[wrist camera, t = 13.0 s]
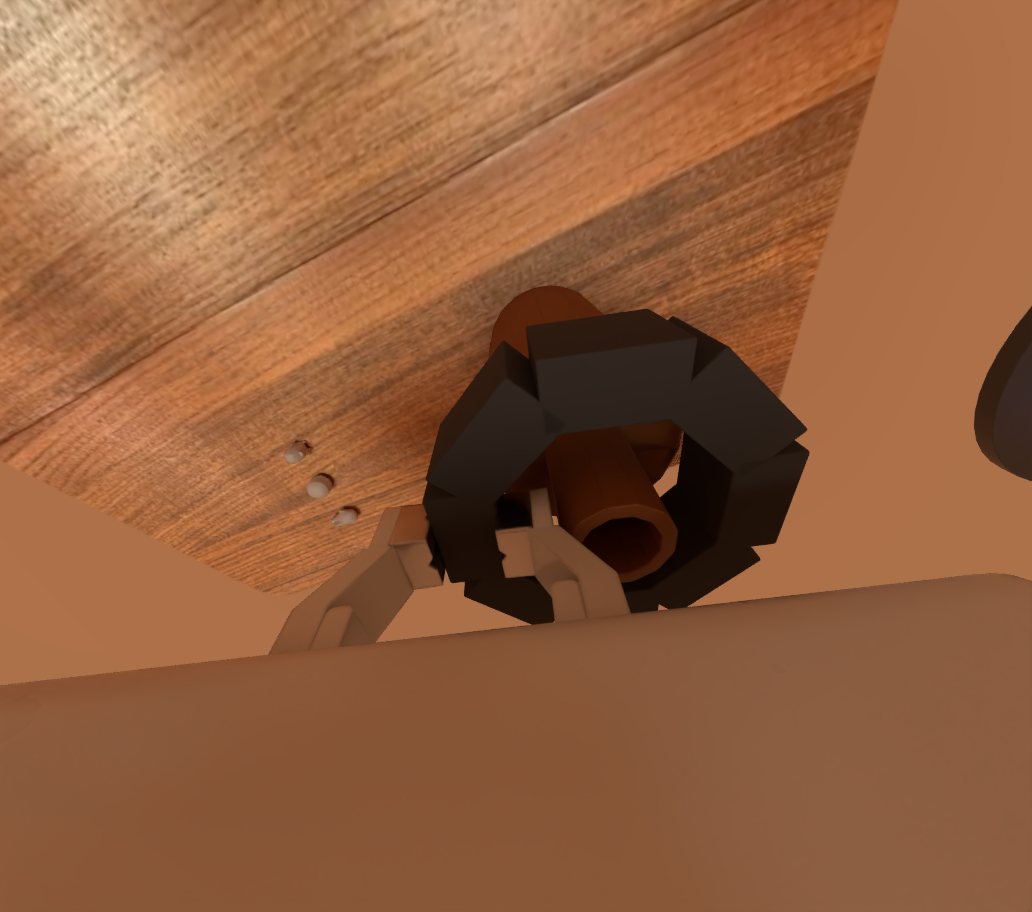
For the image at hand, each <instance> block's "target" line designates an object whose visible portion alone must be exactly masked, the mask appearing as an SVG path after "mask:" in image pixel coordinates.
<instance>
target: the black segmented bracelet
mask: <svg viewBox="0 0 1032 912" xmlns="http://www.w3.org/2000/svg"><path fill="white" fill-rule="evenodd" d="M526 336H527V345H528V354H529V359H528V358H527V357H525V356H524V355H523V354H521V353H520V352H519V351H518V350H516V349H515V348H514V347H512V346H511V345H510V344H508V343H507V342H506V341H502V342H501V343H500V344H499V346H498V347H497V348H496V350H495V351H494V353H493V354H492V355H491V357H490V358H489V359H488V361H487V362H486V363H485V365H484V366H483V367H482V369H481V370H480V372H479V373H478V374H477V376H476V377H475V378H474V380H473V381H472V382H471V384H470V385H469V386H468V388H467V389H466V390H465V392H464V393H463V395H462V396H461V397H460V399H459V400H458V401H457V403H456V404H455V405H454V407H453V408H452V409H451V411H450V412H449V414H448V415H447V416H446V418H445V419H444V420H443V422H442V423H441V424H440V427H439V431H438V435H437V439H436V442H435V446H434V450H433V454H432V457H431V461H430V465H429V469H428V473H427V476H426V481H427V486H426V490H425V494H424V498H423V502H422V503H423V506H424V509H425V512H426V514H427V517H428V520H429V523H430V526H431V528H432V531H433V534H434V537H435V540H436V543H437V546H438V548H439V551H440V554H441V557H442V560H443V562H444V565H445V568H446V571H447V574H448V577H449V579H450V582H451V583H458V582H465V589H464V596H465V597H467V598H469V599H471V600H474V601H476V602H479V603H481V604H483V605H486V606H488V607H491V608H493V609H495V610H498V611H500V612H503V613H505V614H507V615H510V616H512V617H515V618H517V619H520V620H522V621H524V622H527V623H529V624H532V625H535V624H544V623H553V622H554V621H555V618H554V610H553V602H552V597H551V596H550V594H549V593H548V592H547V591H546V589H545V588H544V587H543V586H542V585H541V583H540V582H539V581H538V580H537V578H536V577H535V575H534V576H523V577H512V578H506V577H505V573H504V569H503V565H502V552H501V551H499V547H498V543H497V538H496V533H495V516H496V514H497V512H498V507H497V500H498V499H499V498H500V497H501V496H502V495H503V494H504V493H505V492H506V491H507V490H508V488H509V487H510V486H511V485H512V484H513V483H514V482H515V481H516V480H517V479H518V478H519V477H520V476H521V475H522V474H523V472H524V471H525V470H526V469H527V468H528V467H529V466H530V465H531V464H532V463H533V462H534V461H535V460H536V459H537V458H538V457H539V455H540V454H541V453H542V452H543V451H544V450H545V449H546V448H547V447H548V446H549V445H550V444H551V443H552V442H553V441H554V439H555V438H556V437H557V436H558V435H560V434H567V433H575V432H582V431H590V430H597V429H605V428H612V427H619V426H627V425H634V424H642V423H649V422H657V421H664V420H670V421H671V422H673V423H674V424H675V425H676V426H677V427H679V428H680V429H681V430H682V431H683V432H684V437H683V444H682V451H681V458H680V465H679V472H678V479H677V484H676V485H675V486H673V487H672V488H671V489H670V490H668V491H667V492H666V493H665V494H664V495H662V496H661V497H660V499H661V501H662V503H663V504H664V506H665V508H666V510H667V511H668V513H669V515H670V517H671V518H672V520H673V522H674V524H675V525H676V527H677V530H678V533H677V540H676V546H675V551H674V553H673V554H672V555H671V556H670V557H669V558H668V559H667V560H666V561H665V562H664V563H663V565H662V566H661V567H660V568H659V569H657V570H656V571H654V572H652V573H650V574H647V575H645V576H643V577H641V578H639V579H637V580H635V581H631V582H622V583H621V586H622V589H623V592H624V595H625V598H626V601H627V603H628V606H629V609H630V612H631V614H632V613H641V612H650V611H658V606H659V604H660V605H661V606H664V607H665V608H667V609H676V608H685V607H687V606H689V605H691V604H692V603H694V602H695V601H697V600H699V599H700V598H702V597H703V596H705V595H706V594H708V593H710V592H711V591H713V590H714V589H716V588H718V587H719V586H721V585H722V584H724V583H725V582H727V581H728V580H730V579H731V578H733V577H735V576H736V575H738V574H740V573H741V572H743V571H744V570H746V569H747V568H749V567H751V566H752V565H754V564H755V563H757V562H758V561H760V557H759V556H758V555H757V553H756V552H755V551H754V550H753V548H751V546H759V545H768V544H774V543H775V542H776V541H777V538H778V536H779V533H780V530H781V528H782V525H783V522H784V520H785V517H786V514H787V512H788V509H789V506H790V504H791V501H792V498H793V496H794V493H795V491H796V488H797V485H798V483H799V480H800V477H801V475H802V472H803V469H804V467H805V464H806V461H807V459H808V456H809V451H808V450H807V449H806V448H805V447H803V446H802V445H800V444H799V443H798V442H796V441H795V439H797V438H798V437H799V436H800V435H802V434H803V433H804V432H806V431H807V428H806V427H805V426H804V425H803V424H802V423H801V421H800V420H798V418H797V417H796V416H795V415H794V414H793V413H792V412H791V411H790V410H789V409H788V408H787V407H786V406H785V405H784V404H783V403H782V402H781V401H780V400H779V399H778V398H777V396H776V395H775V394H774V393H773V392H772V391H771V390H770V389H769V388H768V387H767V386H766V385H765V384H764V383H763V382H762V381H761V380H760V379H759V378H758V377H757V376H756V375H755V374H754V372H753V371H752V370H751V369H750V368H749V367H748V366H747V365H746V364H745V363H744V362H743V361H742V360H741V359H740V358H739V357H738V356H737V355H736V354H735V353H734V352H733V351H732V350H731V348H730V347H728V346H726V345H725V344H723V343H721V342H719V341H717V340H716V339H714V338H712V337H710V336H708V335H707V334H705V333H703V332H701V331H699V330H698V329H696V328H694V327H692V326H690V325H688V324H687V323H685V322H683V321H681V320H679V319H678V318H676V317H674V316H672V317H671V318H670V319H669V320H666V319H664V318H663V317H661V316H659V315H658V314H656V313H654V312H653V311H651V310H649V309H642V310H635V311H628V312H621V313H614V314H607V315H600V316H593V317H586V318H579V319H572V320H565V321H558V322H551V323H544V324H537V325H531V326H527V327H526Z"/></svg>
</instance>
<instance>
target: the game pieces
mask: <svg viewBox="0 0 1032 912" xmlns="http://www.w3.org/2000/svg"><path fill="white" fill-rule="evenodd" d="M304 443H306V441H301V442H297V443H291V444H290V446H289V447H288V448H287V449H286V450H285V452H284V456H285V459H286V460H287V462H288V463H290V464H293V463H297V462H299V461H301V460H302V459H303V458H304V457H305V455H306V454H307V452H308V451H309V450H311V449H310V448H307V447H306V446H305V444H304ZM325 476H326V475H325ZM325 476H322V475H321V474H320V476H315V477H313V478H312V479H311V480H310V482H309V483H308V485H307V487H306V489H307V492H308V494H309V495H310V496H312V497H314V498H322V497H325V496H327V494H328V493H329V491H330V489H331V488H332V483H331V481H330V480H329V479H330V478H326V477H325ZM357 519H358V515H357V513H356V511H355V510H353V509H346V510H339V514H338V515H337V516H334V517H333V519H331V522H332V523H333V522H335V524H334V525H335V526H341V525H344V524H350V523H352V522H354V521H356V520H357Z"/></svg>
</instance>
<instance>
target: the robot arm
mask: <svg viewBox="0 0 1032 912" xmlns="http://www.w3.org/2000/svg"><path fill="white" fill-rule="evenodd" d="M497 507H498V512H497V514H496V516H495V533H496V538H497V543H498V547H499V551H501V552H502V565H503V569H504V573H505V577H506V578H512V577H523V576H534V575H535V577H536V578H537V580H538V581H539V582H540V583H541V585H542V586H543V587H544V588H545V589H546V591H547V592H548V593H549V594H550V596H551V597H552V602H553V610H554V618H555V622H553V623H544V624H535V625H527V626H518V627H509V628H501V629H491V630H484V631H474V632H466V633H456V634H448V635H438V636H430V637H421V638H412V639H403V640H395V641H386V642H377V643H375V642H376V641H377V639H378V638H379V637H380V636H381V634H382V633H383V632H384V630H385V629H386V628H387V626H388V625H389V624H390V622H391V621H392V620H393V618H394V617H395V616H396V614H397V613H398V612H399V610H400V609H401V608H402V606H403V605H404V604H405V603H406V601H407V600H408V599H409V597H410V596H411V595H412V593H413V592H414V590H415V589H422V588H429V587H436V586H442V585H443V581H444V575H445V565H444V562H443V560H442V557H441V554H440V551H439V548H438V546H437V543H436V540H435V537H434V534H433V531H432V528H431V526H430V523H429V520H428V517H427V514H426V512H425V509H424V506H423V504H415V505H406V506H399V507H390V508H386V509H385V510H384V512H383V514H382V517H381V519H380V522H379V524H378V527H377V529H376V532H375V534H374V537H373V539H372V542H371V544H370V547H369V549H363V550H362V551H361V552H360V553H359V554H358V555H356V556H355V557H354V558H353V559H352V560H351V561H349V562H348V563H347V564H346V565H345V566H344V567H342V568H341V569H340V570H339V571H338V572H336V573H335V574H334V575H333V576H332V577H331V578H329V579H328V580H327V581H326V582H325V583H324V584H322V585H321V586H320V587H319V588H318V589H317V590H315V591H314V592H313V593H312V594H311V595H309V596H308V597H307V598H306V599H305V600H304V601H302V602H301V603H300V604H299V605H298V606H296V607H295V608H294V609H293V610H292V611H291V613H290V615H289V616H288V618H287V620H286V622H285V624H284V626H283V628H282V630H281V632H280V633H279V635H278V637H277V639H276V641H275V643H274V645H273V647H272V649H271V651H270V652H269V654H268V655H263V656H254V657H245V658H237V659H227V660H220V661H210V662H201V663H192V664H184V665H175V666H167V667H157V668H148V669H140V670H131V671H122V672H113V673H105V674H97V675H87V676H79V677H70V678H61V679H53V680H43V681H34V682H26V683H18V684H8V685H0V912H1032V581H1030V580H1026V579H1023V578H1020V577H1017V576H1014V575H1008V574H996V573H988V574H973V575H964V576H956V577H948V578H940V579H932V580H922V581H913V582H905V583H897V584H887V585H879V586H870V587H861V588H852V589H845V590H835V591H826V592H817V593H809V594H800V595H791V596H782V597H774V598H765V599H756V600H747V601H738V602H730V603H721V604H712V605H703V606H694V607H685V608H676V609H668V610H659V611H650V612H641V613H632V614H631V612H630V609H629V606H628V603H627V601H626V598H625V595H624V592H623V589H622V586H621V583H620V580H619V577H618V574H617V572H616V571H614V570H613V569H612V568H611V567H610V566H608V565H607V564H606V563H605V562H603V561H602V560H601V559H600V558H598V557H597V556H596V555H595V554H594V553H592V552H591V551H590V550H589V549H587V548H586V547H585V546H584V545H583V544H581V543H580V542H579V541H578V540H576V539H575V538H574V537H573V536H571V535H570V534H569V533H568V532H567V531H565V530H564V529H563V528H562V527H560V526H559V525H555V526H554V525H553V519H552V514H551V508H550V503H549V497H548V491H547V488H546V487H545V488H538V489H532V490H530V493H529V490H528V491H521V492H513V493H506V494H503V495H502V496H501V497H500V498H499V499H498V500H497Z"/></svg>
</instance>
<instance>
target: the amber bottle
mask: <svg viewBox="0 0 1032 912" xmlns="http://www.w3.org/2000/svg"><path fill="white" fill-rule="evenodd" d="M600 315H603V314H602V313H601V312H600V311H599V310H598V309H596V308H595V307H594V306H593V305H592V304H591V303H590V302H589V301H588V300H587V299H585V298H584V297H583V296H582V295H581V294H580V293H578V292H575V291H573V290H570V289H567V288H564V287H559V286H542V287H537V288H533V289H531V290H528V291H526V292H524V293H522V294H520V295H519V296H517V297H516V298H514V299H513V300H512V301H511V302H510V303H509V304H508V305H507V306H506V307H505V308H504V310H503V311H502V312H501V314H500V315H499V317H498V319H497V321H496V322H495V325H494V329H493V332H492V338H491V343H490V350H489V358H490V357H491V355H492V354H493V353H494V351H495V350H496V348H497V347H498V346H499V344H500V343H501V342H502V341H506V342H507V343H508V344H510V345H511V346H512V347H514V348H515V349H516V350H518V351H519V352H520V353H521V354H523V355H524V356H525V357H527V358H528V359H529V354H528V345H527V336H526V327H527V326H531V325H537V324H544V323H551V322H558V321H565V320H572V319H579V318H586V317H593V316H600ZM681 433H682V430H681V429H680V428H679V427H677V426H676V425H675V424H674V423H673V422H671V421H670V420H664V421H657V422H649V423H642V424H634V425H627V426H619V427H612V428H605V429H597V430H590V431H582V432H575V433H567V434H560V435H558V436H557V437H556V438H555V439H554V441H553V442H552V443H551V444H550V445H549V446H548V447H547V448H546V449H545V450H544V451H543V452H542V453H541V454H540V455H539V457H538V458H537V459H536V460H535V461H534V462H533V463H532V464H531V465H530V466H529V467H528V468H527V469H526V470H525V471H524V472H523V474H522V475H521V476H520V477H519V478H518V479H517V480H516V481H515V482H514V483H513V484H512V485H511V486H510V487H509V488H508V490H507V491H506V492H505V493H513V492H521V491H528V490H529V493H530V490H532V489H538V488H545V487H546V488H547V491H548V497H549V503H550V508H551V514H552V516H557V518H558V524H559V526H560V527H562V528H563V529H564V530H565V531H567V532H568V533H569V534H570V535H571V536H573V537H574V538H575V539H576V540H578V541H579V542H580V543H581V544H583V545H584V546H585V547H586V548H587V549H589V550H590V551H591V552H592V553H594V554H595V555H596V556H597V557H598V558H600V559H601V560H602V561H603V562H605V563H606V564H607V565H608V566H610V567H611V568H612V569H613V570H614V571H616V572H617V574H618V577H619V580H620V583H622V582H631V581H635V580H637V579H639V578H641V577H643V576H645V575H647V574H650V573H652V572H654V571H656V570H657V569H659V568H660V567H661V566H662V565H663V563H664V562H665V561H666V560H667V559H668V558H669V557H670V556H671V555H672V554H673V553H674V551H675V546H676V540H677V533H678V530H677V527H676V525H675V524H674V522H673V520H672V518H671V517H670V515H669V513H668V511H667V510H666V508H665V506H664V504H663V503H662V501H661V499H660V497H659V496H658V494H657V492H656V490H655V489H654V487H653V485H654V484H655V483H656V482H657V481H658V480H660V479H661V477H662V476H663V474H664V473H665V471H666V470H667V468H668V466H669V465H670V463H671V461H672V460H673V458H674V456H675V455H676V453H677V451H678V450H679V447H680V440H681Z"/></svg>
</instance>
